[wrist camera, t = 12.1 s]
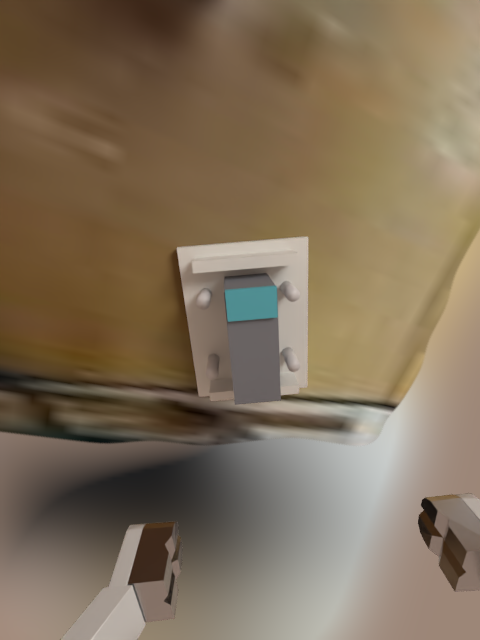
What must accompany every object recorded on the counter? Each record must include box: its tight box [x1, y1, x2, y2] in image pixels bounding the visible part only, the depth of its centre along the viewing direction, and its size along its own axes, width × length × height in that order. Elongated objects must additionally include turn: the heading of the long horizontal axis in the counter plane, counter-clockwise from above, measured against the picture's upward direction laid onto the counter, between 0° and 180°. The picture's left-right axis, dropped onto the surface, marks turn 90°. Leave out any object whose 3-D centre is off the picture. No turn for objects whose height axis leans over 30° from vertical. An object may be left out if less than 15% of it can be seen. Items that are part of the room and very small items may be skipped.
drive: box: [224, 273, 281, 404], centre depth 25 cm, size 4×10×6 cm, turn 4°
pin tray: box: [177, 236, 308, 401], centre depth 27 cm, size 12×16×4 cm
